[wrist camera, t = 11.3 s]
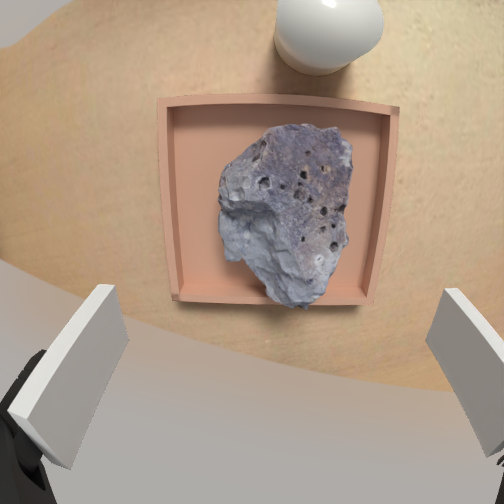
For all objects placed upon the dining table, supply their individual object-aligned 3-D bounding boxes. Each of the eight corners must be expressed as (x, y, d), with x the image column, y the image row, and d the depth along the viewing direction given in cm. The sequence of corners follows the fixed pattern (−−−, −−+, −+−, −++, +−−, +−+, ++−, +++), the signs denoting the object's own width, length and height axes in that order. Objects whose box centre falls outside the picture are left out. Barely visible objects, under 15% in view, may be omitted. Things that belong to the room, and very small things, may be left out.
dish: (179, 285, 32) (172, 300, 29) (168, 100, 24) (157, 98, 22) (364, 289, 31) (372, 304, 29) (386, 107, 24) (399, 107, 21)
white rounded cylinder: (273, 73, 23) (277, 54, 16) (273, 4, 20) (277, -34, 13) (352, 79, 23) (385, 66, 16) (351, 12, 20) (380, -20, 13)
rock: (328, 305, 29) (370, 320, 19) (221, 307, 28) (212, 325, 18) (323, 160, 30) (358, 115, 20) (222, 157, 29) (215, 106, 19)
